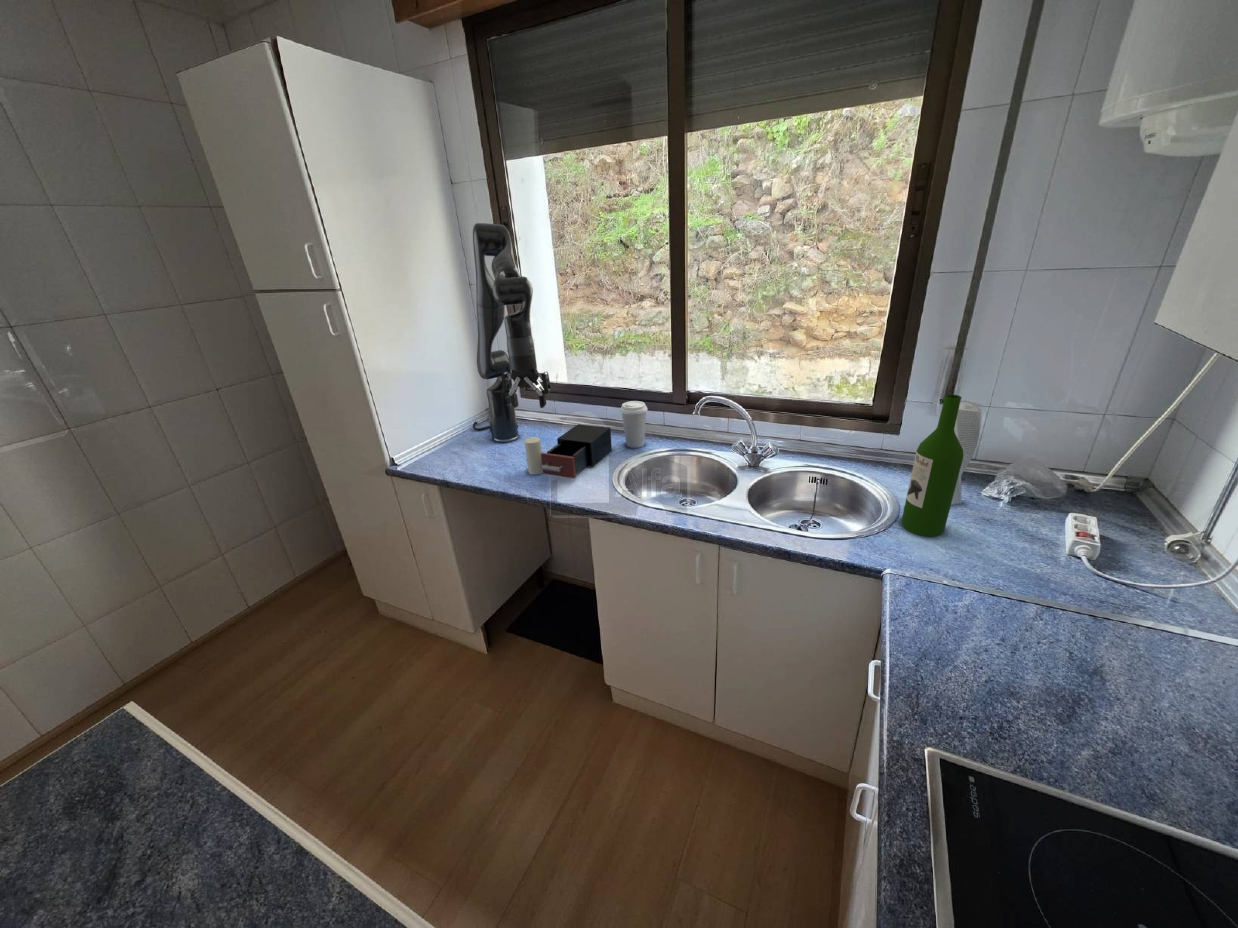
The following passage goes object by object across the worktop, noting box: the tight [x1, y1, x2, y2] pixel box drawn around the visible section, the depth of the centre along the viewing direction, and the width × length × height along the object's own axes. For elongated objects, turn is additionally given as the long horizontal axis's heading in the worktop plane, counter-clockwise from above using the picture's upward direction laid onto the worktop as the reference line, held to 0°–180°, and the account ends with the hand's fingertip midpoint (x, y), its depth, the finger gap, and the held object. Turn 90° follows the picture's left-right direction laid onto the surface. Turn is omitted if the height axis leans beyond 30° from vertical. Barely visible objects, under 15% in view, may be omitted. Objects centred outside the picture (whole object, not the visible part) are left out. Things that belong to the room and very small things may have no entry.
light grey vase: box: [951, 398, 982, 506], centre depth 122 cm, size 8×8×28 cm
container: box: [523, 436, 543, 476], centre depth 156 cm, size 5×5×11 cm
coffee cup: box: [619, 400, 648, 449], centre depth 172 cm, size 10×10×15 cm
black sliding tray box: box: [556, 423, 613, 468], centre depth 165 cm, size 15×13×9 cm
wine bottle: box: [900, 394, 963, 538], centre depth 110 cm, size 9×9×32 cm
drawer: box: [541, 441, 590, 479], centre depth 154 cm, size 18×11×7 cm, turn 155°
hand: (529, 407), depth 144 cm, fingers open, 8 cm apart
